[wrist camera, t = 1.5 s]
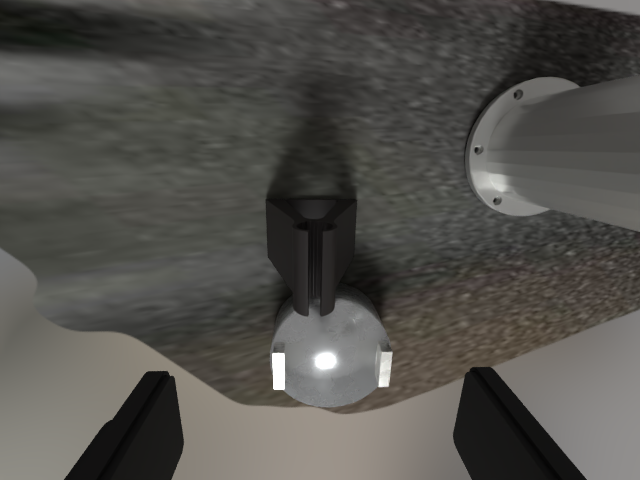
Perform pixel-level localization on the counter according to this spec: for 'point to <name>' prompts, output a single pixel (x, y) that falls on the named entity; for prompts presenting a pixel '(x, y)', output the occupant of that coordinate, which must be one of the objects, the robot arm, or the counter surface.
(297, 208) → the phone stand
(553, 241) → the counter surface
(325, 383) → the grey short round piece
